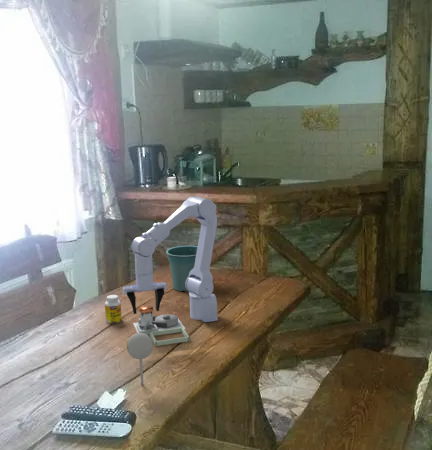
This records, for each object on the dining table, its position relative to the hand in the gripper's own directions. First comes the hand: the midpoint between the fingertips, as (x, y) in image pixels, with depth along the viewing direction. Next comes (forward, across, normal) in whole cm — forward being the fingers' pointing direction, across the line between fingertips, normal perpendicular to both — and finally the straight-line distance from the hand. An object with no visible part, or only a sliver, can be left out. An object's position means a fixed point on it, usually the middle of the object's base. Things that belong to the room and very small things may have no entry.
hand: (146, 311), depth 204 cm
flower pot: (+8, -26, -44) cm, 52 cm away
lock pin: (+7, 0, 0) cm, 7 cm away
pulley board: (+8, -5, -2) cm, 9 cm away
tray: (+8, -6, +10) cm, 14 cm away
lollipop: (+8, +8, +36) cm, 38 cm away
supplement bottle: (+8, +9, -14) cm, 18 cm away
